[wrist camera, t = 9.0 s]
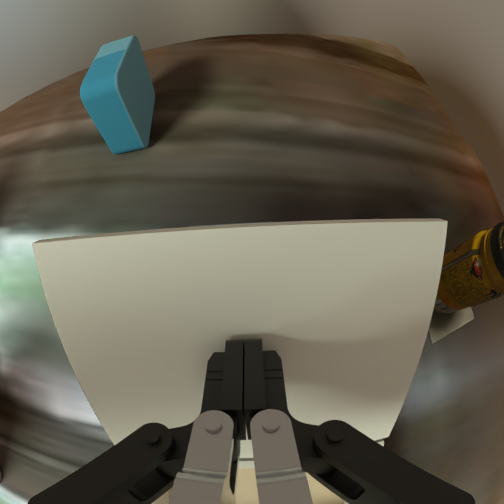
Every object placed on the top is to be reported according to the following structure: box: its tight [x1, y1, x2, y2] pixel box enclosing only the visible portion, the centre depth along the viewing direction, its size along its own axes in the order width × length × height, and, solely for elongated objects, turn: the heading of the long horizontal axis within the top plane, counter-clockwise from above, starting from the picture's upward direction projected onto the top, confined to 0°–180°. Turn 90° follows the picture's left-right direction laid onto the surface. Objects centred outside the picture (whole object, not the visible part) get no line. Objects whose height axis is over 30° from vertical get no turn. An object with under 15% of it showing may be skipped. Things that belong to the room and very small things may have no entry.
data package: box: [80, 35, 155, 154], centre depth 29 cm, size 12×4×12 cm, turn 7°
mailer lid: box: [32, 219, 448, 458], centre depth 13 cm, size 14×18×1 cm
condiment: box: [428, 222, 504, 344], centre depth 20 cm, size 7×8×12 cm
